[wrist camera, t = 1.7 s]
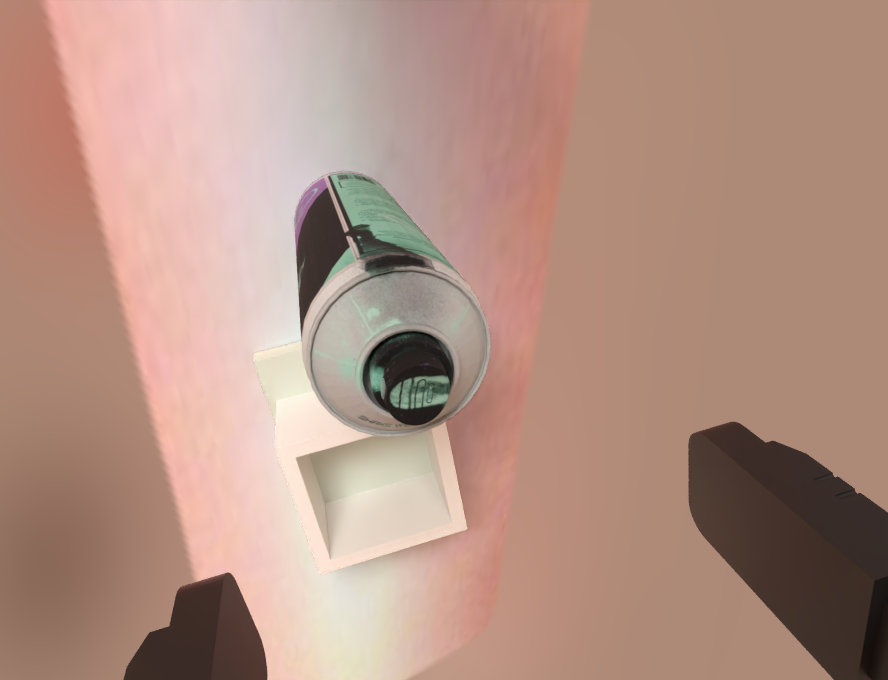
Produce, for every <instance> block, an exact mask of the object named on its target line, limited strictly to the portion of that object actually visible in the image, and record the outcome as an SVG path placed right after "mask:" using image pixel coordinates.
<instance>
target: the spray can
mask: <svg viewBox="0 0 888 680" xmlns="http://www.w3.org/2000/svg"><path fill="white" fill-rule="evenodd" d="M294 221H295V239H296V256H297V273H298V290H299V307H300V324H301V341H302V358H303V363H304V366H305V370H306V373H307V376H308V378H309V380H310V383H311V386H312V389H313V390H314V392H315V394H316V396H317V398H318V400H319V401H320V403H321V404H322V405H323V406H324V407H325V409H326V410H327V411H328V412H329V413H330V414H331V415H332V416H333V417H335V418H336V419H337V420H339V421H340V422H341V423H343V424H344V425H346V426H348V427H350V428H352V429H354V430H356V431H359V432H362V433H366V434H370V435H373V436H382V437H402V436H410V435H414V434H418V433H422V432H426V431H428V430H430V429H432V428H435V427H437V426H439V425H441V424H443V423H444V422H446V421H447V420H449V419H450V418H452V417H453V416H455V415H456V414H457V413H458V412H459V411H460V410H461V409H462V408H464V407H465V406H466V405H467V404H468V403H469V401H470V400H471V399H472V397H473V396H474V395H475V393H476V392H477V391H478V389H479V387H480V385H481V383H482V381H483V379H484V377H485V375H486V371H487V368H488V364H489V361H490V351H491V339H490V331H489V326H488V323H487V320H486V318H485V315H484V312H483V310H482V308H481V306H480V303H479V300H478V299H477V297H476V296H475V294H474V292H473V291H472V289H471V288H470V286H469V285H468V284H467V283H466V282H465V281H464V279H463V278H462V277H461V276H460V275H459V274H458V272H457V271H456V270H455V269H454V268H453V267H452V266H451V264H450V263H449V262H448V261H447V260H446V259H445V258H444V256H443V255H442V254H441V253H440V252H439V251H438V249H437V248H436V247H435V246H434V245H433V244H432V243H431V241H430V240H429V239H428V238H427V237H426V236H425V235H424V233H423V232H422V231H421V230H420V229H419V228H418V226H417V225H416V224H415V223H414V222H413V221H412V220H411V218H410V217H409V216H408V215H407V214H406V213H405V212H404V210H403V209H402V208H401V207H400V206H399V205H398V203H397V202H396V201H395V200H394V199H393V198H392V197H391V195H390V194H389V193H388V192H387V191H386V190H385V189H384V188H383V187H382V186H381V185H380V184H379V183H378V182H376V181H375V180H373V179H372V178H370V177H368V176H365V175H363V174H361V173H356V172H351V171H339V172H334V173H330V174H327V175H325V176H322V177H320V178H319V179H317V180H316V181H314V182H313V183H312V184H311V185H310V186H309V187H308V188H307V189H306V190H305V192H304V193H303V195H302V196H301V198H300V200H299V203H298V205H297V208H296V213H295V220H294Z"/></svg>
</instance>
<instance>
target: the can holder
mask: <svg viewBox="0 0 888 680" xmlns="http://www.w3.org/2000/svg"><path fill="white" fill-rule="evenodd" d="M253 363H254V366H255V369H256V372H257V375H258V377H259V380H260V383H261V386H262V389H263V392H264V395H265V398H266V400H267V403H268V406H269V409H270V412H271V415H272V418H273V420H274V423H275V426H276V429H275V451H276V454H277V456H278V459H279V462H280V465H281V468H282V470H283V473H284V476H285V479H286V482H287V484H288V487H289V490H290V493H291V496H292V499H293V501H294V504H295V507H296V510H297V513H298V515H299V518H300V521H301V524H302V527H303V529H304V532H305V535H306V538H307V541H308V543H309V546H310V549H311V552H312V555H313V557H314V560H315V563H316V566H317V569H318V571H319V574H320V575H321V574H325V573H328V572H331V571H334V570H338V569H341V568H344V567H347V566H350V565H354V564H357V563H360V562H363V561H367V560H370V559H373V558H376V557H380V556H383V555H386V554H389V553H393V552H396V551H399V550H402V549H406V548H409V547H412V546H415V545H419V544H422V543H425V542H428V541H431V540H435V539H438V538H441V537H444V536H448V535H451V534H454V533H457V532H461V531H464V530H467V524H466V519H465V514H464V509H463V505H462V500H461V495H460V490H459V485H458V480H457V475H456V470H455V465H454V461H453V456H452V451H451V446H450V441H449V436H448V431H447V426H446V422H444V423H443V424H441V425H439V426H437V427H435V428H432V429H430V430H428V431H426V432H422V433H418V434H414V435H410V436H402V437H382V436H373V435H370V434H366V433H362V432H359V431H356V430H354V429H352V428H350V427H348V426H346V425H344V424H343V423H341V422H340V421H339V420H337V419H336V418H335V417H333V416H332V415H331V414H330V413H329V412H328V411H327V410H326V409H325V407H324V406H323V405H322V404H321V403H320V401H319V400H318V398H317V396H316V394H315V392H314V390H313V389H312V386H311V383H310V380H309V378H308V376H307V373H306V370H305V366H304V363H303V358H302V341H299V342H295V343H291V344H287V345H283V346H279V347H275V348H271V349H267V350H263V351H259V352H255V353H254V358H253Z"/></svg>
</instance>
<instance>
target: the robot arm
mask: <svg viewBox="0 0 888 680" xmlns="http://www.w3.org/2000/svg"><path fill="white" fill-rule="evenodd" d="M689 506H690V510H691V514H692V517H693V519H694V521H695V523H696V525H697V527H698V529H699V531H700V532H701V533H702V535H703V536H704V537H705V538H706V540H707V541H708V542H709V543H710V544H711V545H712V546H713V547H714V548H715V550H716V551H717V552H718V553H719V554H720V555H721V556H722V557H723V558H724V559H725V560H726V562H727V563H728V564H729V565H730V566H731V567H732V568H733V569H734V570H735V572H736V573H737V574H738V575H739V576H740V577H741V578H742V579H743V580H744V581H745V583H746V584H747V585H748V586H749V587H750V588H751V589H752V590H753V591H754V592H755V593H756V595H757V596H758V597H759V598H760V599H761V600H762V601H763V602H764V603H765V604H766V606H767V607H768V608H769V609H770V610H771V611H772V612H773V613H774V614H775V615H776V617H777V618H778V619H779V620H780V621H781V622H782V623H783V624H784V625H785V626H786V628H787V629H788V630H789V631H790V632H791V633H792V634H793V635H794V636H795V637H796V639H797V640H798V641H799V642H800V643H801V644H802V645H803V646H804V647H805V648H806V650H807V651H808V652H809V653H810V654H811V655H812V656H813V657H814V658H815V659H816V660H817V661H818V663H819V664H820V665H821V666H822V667H823V668H824V669H825V670H826V671H827V673H828V674H829V675H830V676H831V677H832V678H833V679H834V680H888V513H887V512H886V511H885V510H883V509H882V508H881V507H879V506H878V505H877V504H875V503H874V502H872V501H871V500H870V499H868V498H867V497H865V496H864V495H863V494H861V493H858V494H857V493H856V492H855V489H854V488H853V487H852V486H850V485H849V484H847V483H846V482H845V481H843V480H842V479H840V478H839V477H834V476H833V473H832V472H831V471H829V470H828V469H827V468H825V467H824V466H822V465H821V464H820V463H818V462H817V461H816V460H814V459H813V458H811V457H810V456H809V455H807V454H806V453H803V452H801V451H798V450H795V449H793V448H791V447H788V446H785V445H783V444H780V443H778V442H775V441H770V442H767V443H765V442H764V441H763V440H761V439H760V438H759V437H757V436H756V435H755V434H753V433H752V432H751V431H749V430H748V429H747V428H746V427H744V426H743V425H741V424H740V423H737V422H729V423H726V424H722V425H719V426H716V427H712V428H709V429H706V430H703V431H699V432H696V433H694V434H692V435H691V436H690V439H689ZM124 680H267V665H266V658H265V652H264V648H263V644H262V641H261V638H260V635H259V633H258V630H257V628H256V626H255V624H254V621H253V619H252V617H251V615H250V612H249V610H248V608H247V605H246V603H245V601H244V599H243V596H242V594H241V592H240V589H239V587H238V585H237V583H236V580H235V578H234V577H233V575H232V574H231V573H225V574H221V575H218V576H215V577H211V578H208V579H205V580H201V581H198V582H195V583H192V584H188V585H185V586H182V587H180V588H179V590H178V591H177V594H176V598H175V603H174V607H173V612H172V617H171V621H170V626H169V627H166V628H163V629H159V630H156V631H153V632H150V633H149V634H148V635H147V637H146V638H145V640H144V642H143V643H142V645H141V646H140V648H139V649H138V651H137V652H136V654H135V656H134V657H133V658H132V660H131V662H130V663H129V665H128V666H127V669H126V673H125V676H124Z"/></svg>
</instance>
